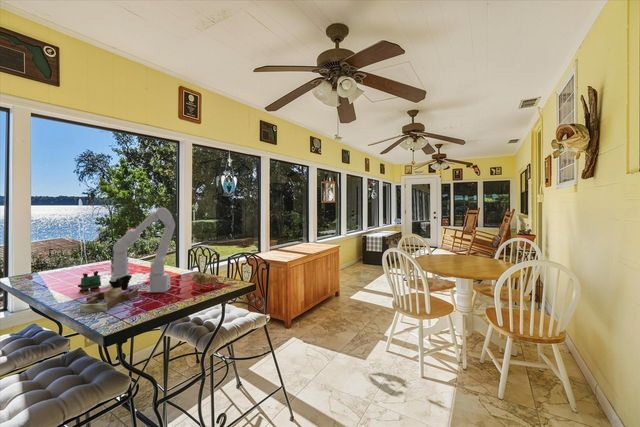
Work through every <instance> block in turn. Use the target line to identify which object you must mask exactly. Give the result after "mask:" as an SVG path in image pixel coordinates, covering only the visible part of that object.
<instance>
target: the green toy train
mask: <svg viewBox="0 0 640 427" xmlns="http://www.w3.org/2000/svg"><path fill="white" fill-rule="evenodd" d="M88 275H89V273H84V272H83V273H82V276H83V277H81V279H80V284H78V285H77V288H79V291H78V292H79V293H82V294H83V295H87V294H90V293H91V292H90V291H93V292H96V293H98V292H101V288H100V287H101V286H102V281H101V275H100V274H99V271H98V270H96V271H94V272H93V275H91V276H88Z"/></svg>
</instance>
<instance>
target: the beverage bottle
mask: <svg viewBox="0 0 640 427" xmlns="http://www.w3.org/2000/svg"><path fill="white" fill-rule="evenodd" d="M126 251H128V249H127V250H126ZM111 252H112V253H111V254H112V256H113V257H112V258H111V260H110V262H111V264H110V269H111V270H110V272H111V274H114V251H113V249H112V250H111ZM129 265H130V264H129V258H128V257H127V268H128V269H129V267H130V266H129ZM110 276H111V275H110ZM111 277H112V276H111ZM111 277H110V278H111ZM119 280H120V279H119Z"/></svg>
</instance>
